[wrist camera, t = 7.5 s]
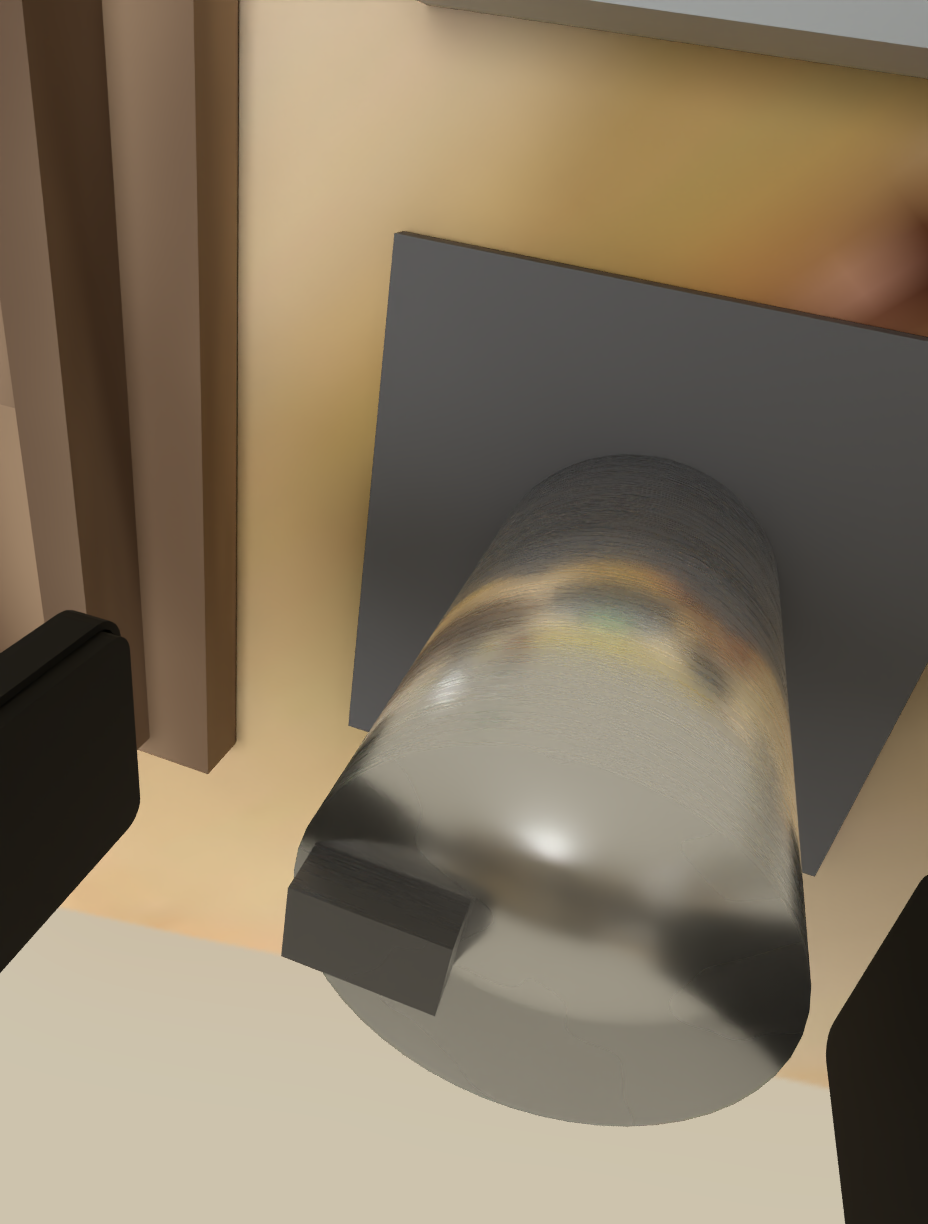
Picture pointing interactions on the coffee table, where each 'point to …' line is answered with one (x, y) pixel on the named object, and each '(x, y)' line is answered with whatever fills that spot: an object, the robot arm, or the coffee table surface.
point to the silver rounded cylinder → (580, 816)
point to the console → (751, 26)
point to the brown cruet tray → (123, 344)
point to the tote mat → (665, 428)
